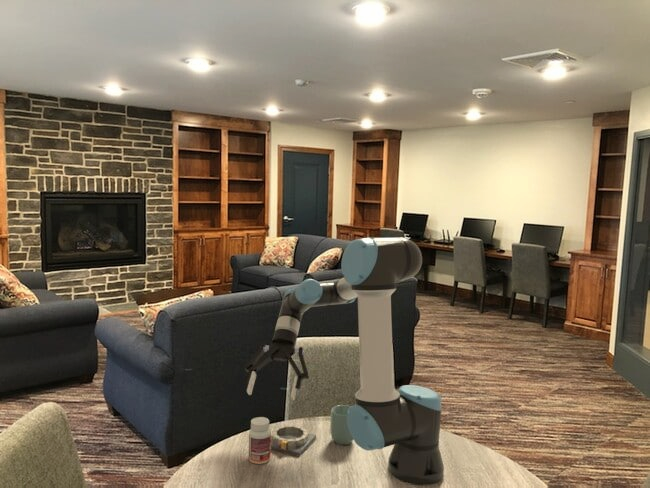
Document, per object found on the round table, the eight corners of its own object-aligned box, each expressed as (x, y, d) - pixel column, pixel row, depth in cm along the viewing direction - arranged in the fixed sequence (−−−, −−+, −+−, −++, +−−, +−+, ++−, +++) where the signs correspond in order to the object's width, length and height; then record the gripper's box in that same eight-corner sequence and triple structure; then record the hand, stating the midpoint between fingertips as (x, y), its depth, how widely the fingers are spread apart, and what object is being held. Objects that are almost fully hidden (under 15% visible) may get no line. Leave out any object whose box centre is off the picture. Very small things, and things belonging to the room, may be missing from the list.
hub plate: (316, 438, 166) (316, 428, 166) (299, 457, 155) (299, 446, 154) (280, 430, 170) (281, 421, 170) (261, 448, 159) (262, 437, 159)
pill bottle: (274, 461, 152) (275, 422, 151) (254, 467, 148) (255, 427, 147) (264, 451, 157) (265, 414, 156) (244, 457, 153) (245, 418, 152)
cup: (360, 440, 166) (361, 409, 165) (347, 450, 160) (348, 417, 158) (338, 433, 170) (339, 402, 169) (325, 442, 164) (326, 411, 163)
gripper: (325, 343, 175) (312, 406, 162) (251, 335, 180) (234, 396, 167) (322, 331, 169) (309, 395, 156) (246, 324, 174) (227, 385, 161)
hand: (270, 396), depth 162 cm, fingers open, 13 cm apart
